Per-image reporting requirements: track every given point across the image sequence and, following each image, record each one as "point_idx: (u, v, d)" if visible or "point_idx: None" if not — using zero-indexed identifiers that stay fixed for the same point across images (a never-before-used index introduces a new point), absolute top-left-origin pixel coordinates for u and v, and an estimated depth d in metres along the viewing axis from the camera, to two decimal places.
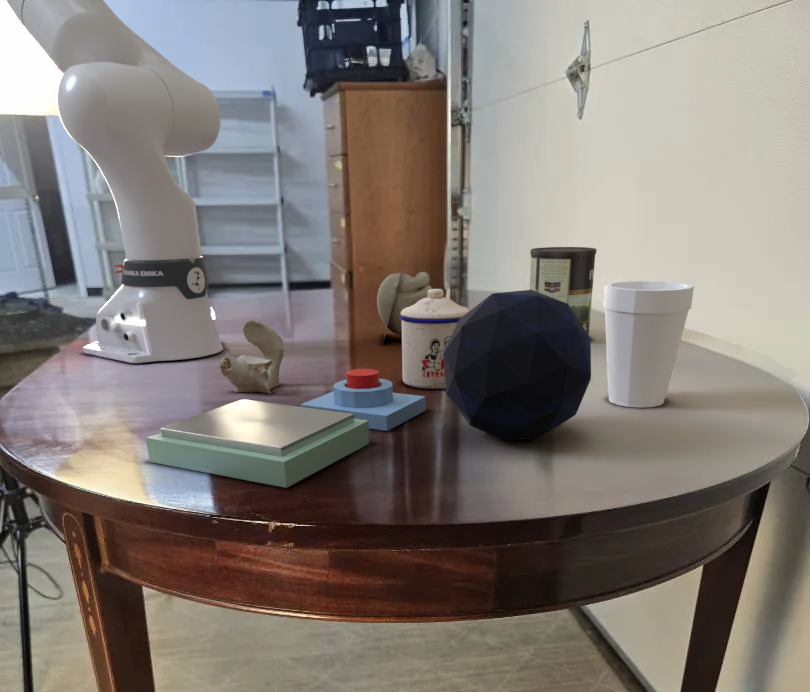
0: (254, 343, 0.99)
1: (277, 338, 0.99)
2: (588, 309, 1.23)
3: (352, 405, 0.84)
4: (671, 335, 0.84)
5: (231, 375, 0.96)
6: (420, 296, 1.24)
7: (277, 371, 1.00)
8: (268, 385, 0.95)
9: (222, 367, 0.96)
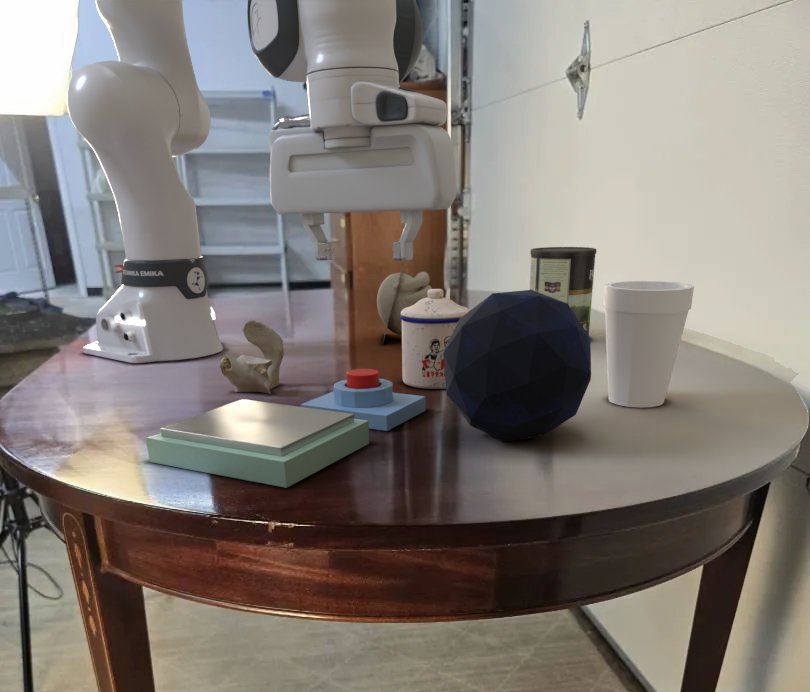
0: (254, 343, 0.99)
1: (277, 338, 0.99)
2: (588, 309, 1.23)
3: (352, 405, 0.84)
4: (671, 335, 0.84)
5: (231, 375, 0.96)
6: (420, 296, 1.24)
7: (277, 371, 1.00)
8: (268, 385, 0.95)
9: (222, 367, 0.96)
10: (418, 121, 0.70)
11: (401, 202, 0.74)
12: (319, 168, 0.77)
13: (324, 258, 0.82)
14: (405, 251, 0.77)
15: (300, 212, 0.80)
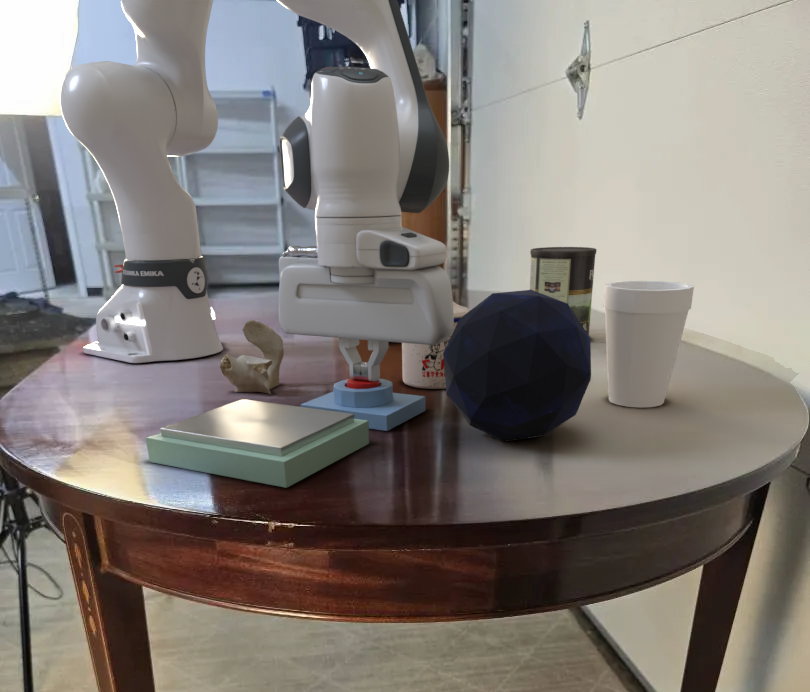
0: (254, 343, 0.99)
1: (277, 338, 0.99)
2: (588, 309, 1.23)
3: (352, 405, 0.84)
4: (671, 335, 0.84)
5: (231, 375, 0.96)
6: None
7: (277, 371, 1.00)
8: (268, 385, 0.95)
9: (222, 367, 0.96)
10: (419, 268, 0.75)
11: (401, 336, 0.79)
12: (325, 297, 0.82)
13: (358, 378, 0.85)
14: (372, 374, 0.84)
15: (306, 334, 0.85)
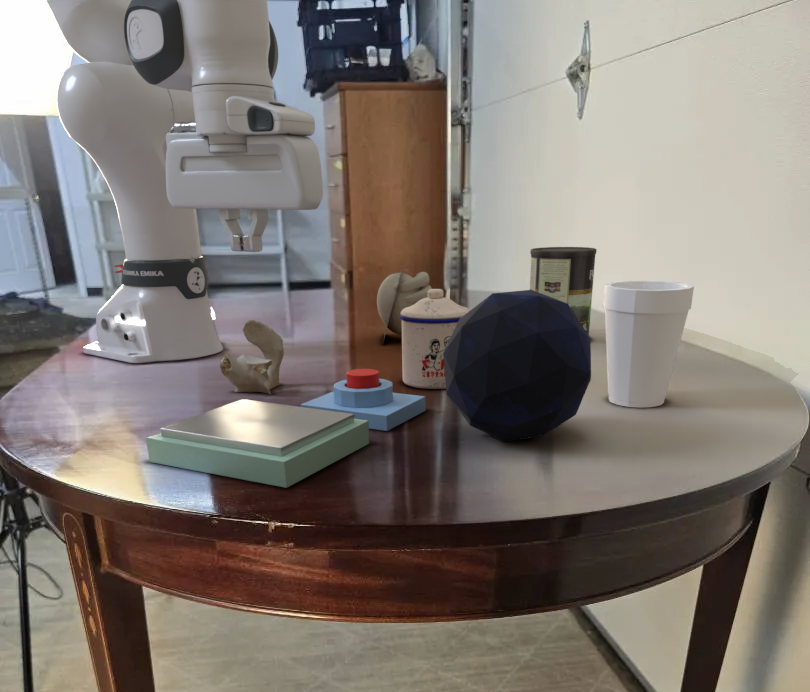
0: (254, 343, 0.99)
1: (277, 338, 0.99)
2: (588, 309, 1.23)
3: (352, 405, 0.84)
4: (671, 335, 0.84)
5: (231, 375, 0.96)
6: (420, 296, 1.24)
7: (277, 371, 1.00)
8: (268, 385, 0.95)
9: (222, 367, 0.96)
10: (283, 132, 0.81)
11: (273, 202, 0.85)
12: (206, 169, 0.88)
13: (239, 249, 0.91)
14: (253, 244, 0.90)
15: (191, 207, 0.91)
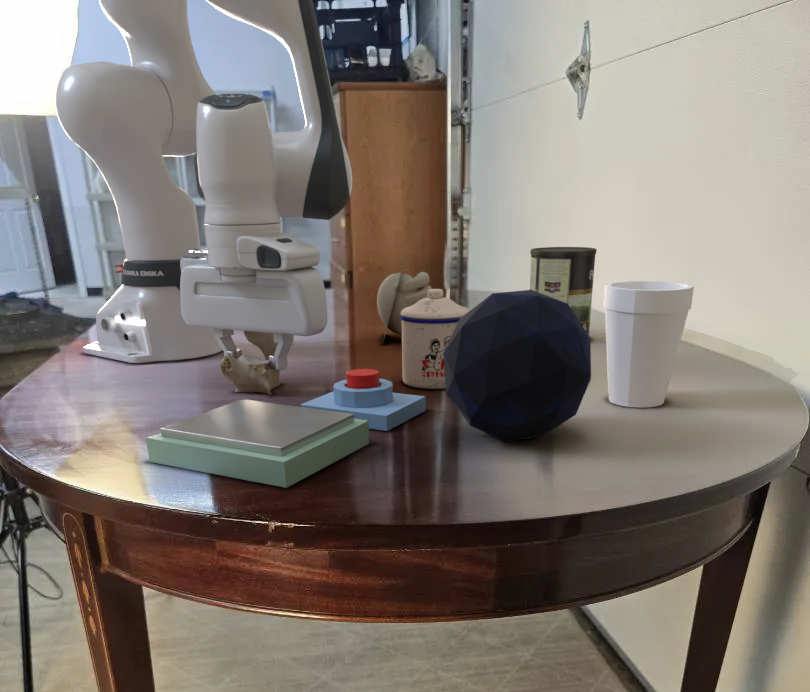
0: (254, 343, 0.98)
1: None
2: (588, 309, 1.23)
3: (352, 405, 0.84)
4: (671, 335, 0.84)
5: (231, 375, 0.96)
6: (420, 296, 1.24)
7: (277, 371, 1.00)
8: (269, 385, 0.95)
9: (222, 367, 0.96)
10: (290, 269, 0.87)
11: (281, 328, 0.91)
12: (218, 294, 0.94)
13: None
14: (279, 363, 0.94)
15: (204, 326, 0.97)
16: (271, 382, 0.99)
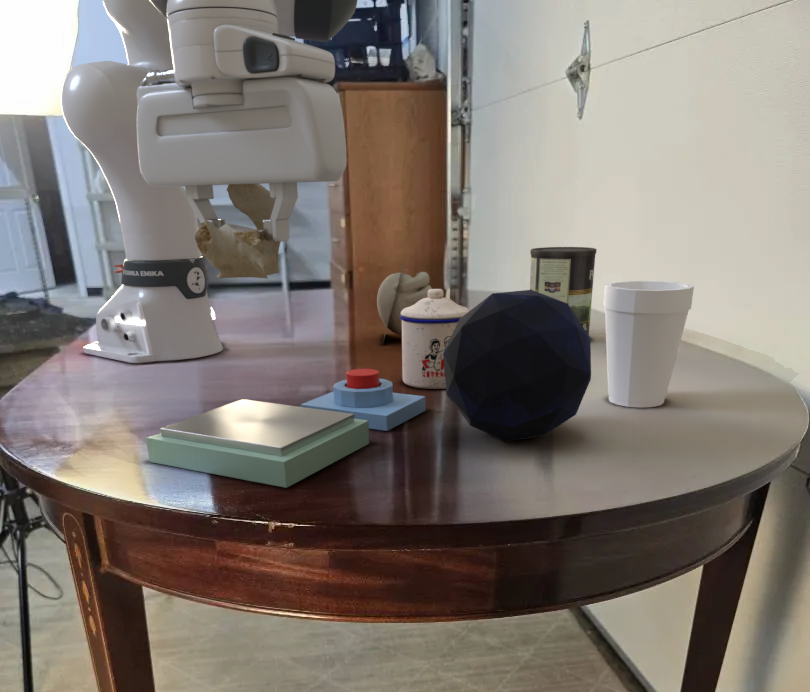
0: (243, 210, 0.71)
1: None
2: (588, 309, 1.23)
3: (352, 405, 0.84)
4: (671, 335, 0.84)
5: (211, 251, 0.68)
6: (420, 296, 1.24)
7: (276, 251, 0.72)
8: (263, 263, 0.67)
9: (198, 239, 0.68)
10: (293, 73, 0.59)
11: (280, 172, 0.63)
12: (190, 132, 0.66)
13: None
14: (277, 231, 0.66)
15: (172, 184, 0.69)
16: (267, 265, 0.71)
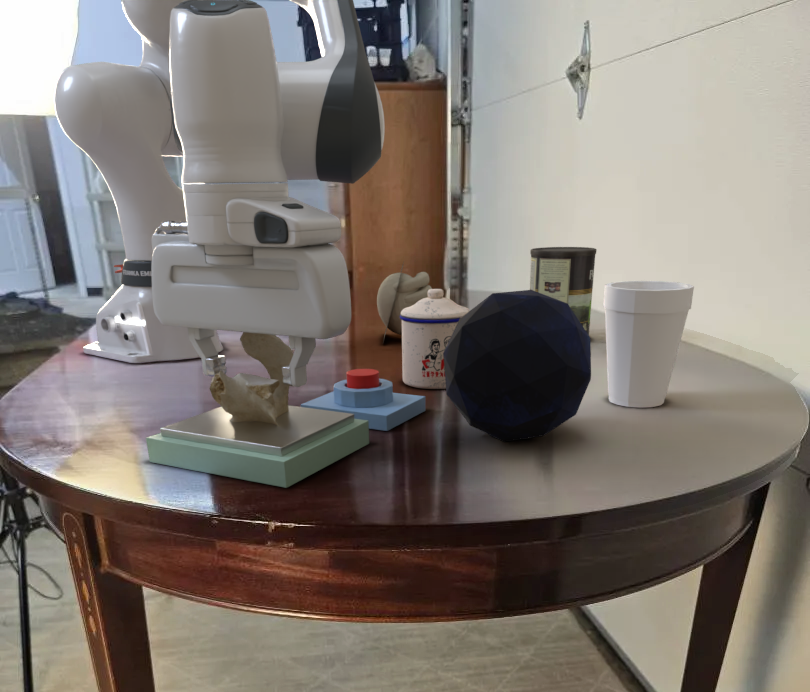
0: (255, 357, 0.74)
1: (286, 350, 0.74)
2: (588, 309, 1.23)
3: (352, 405, 0.84)
4: (671, 335, 0.84)
5: (225, 400, 0.72)
6: (420, 296, 1.24)
7: (286, 394, 0.75)
8: (274, 414, 0.71)
9: (212, 390, 0.71)
10: (301, 245, 0.62)
11: (288, 328, 0.66)
12: (202, 282, 0.69)
13: (212, 375, 0.74)
14: (296, 377, 0.69)
15: (184, 326, 0.72)
16: (277, 408, 0.75)
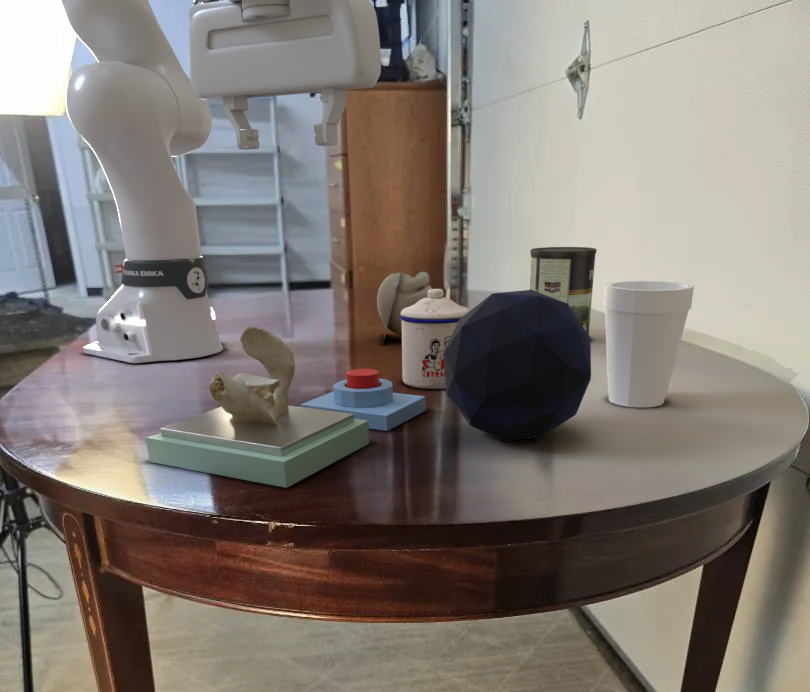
0: (255, 357, 0.74)
1: (286, 350, 0.74)
2: (588, 309, 1.23)
3: (352, 405, 0.84)
4: (671, 335, 0.84)
5: (225, 400, 0.72)
6: (420, 296, 1.24)
7: (286, 394, 0.75)
8: (274, 414, 0.71)
9: (212, 390, 0.71)
10: None
11: (321, 77, 0.70)
12: (239, 44, 0.73)
13: (246, 146, 0.77)
14: (327, 134, 0.73)
15: (220, 94, 0.76)
16: (277, 408, 0.75)
